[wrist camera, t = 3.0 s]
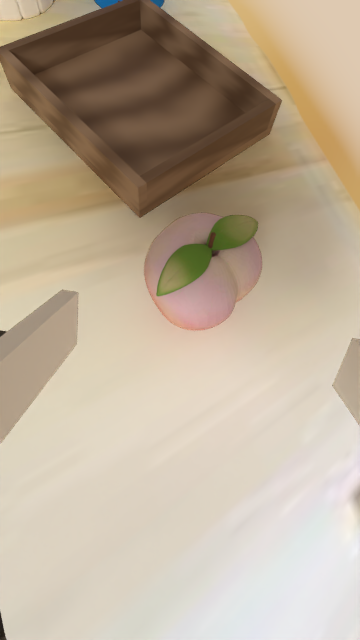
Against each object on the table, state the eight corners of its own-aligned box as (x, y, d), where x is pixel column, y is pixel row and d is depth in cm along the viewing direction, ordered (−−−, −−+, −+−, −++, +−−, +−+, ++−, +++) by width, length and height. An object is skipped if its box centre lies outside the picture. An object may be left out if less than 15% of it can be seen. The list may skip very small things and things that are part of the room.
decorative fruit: (189, 241, 31) (204, 156, 22) (255, 290, 30) (301, 222, 20) (124, 305, 28) (108, 239, 19) (194, 363, 27) (215, 323, 17)
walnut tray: (11, 88, 37) (-5, 48, 33) (142, 32, 43) (141, -7, 39) (139, 217, 32) (138, 188, 28) (269, 133, 38) (282, 100, 34)
